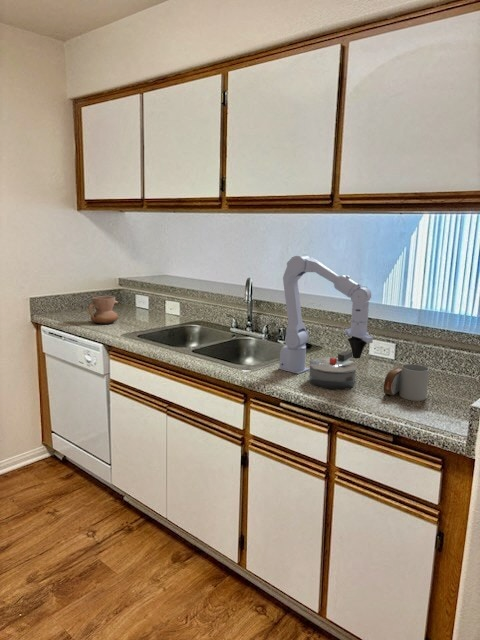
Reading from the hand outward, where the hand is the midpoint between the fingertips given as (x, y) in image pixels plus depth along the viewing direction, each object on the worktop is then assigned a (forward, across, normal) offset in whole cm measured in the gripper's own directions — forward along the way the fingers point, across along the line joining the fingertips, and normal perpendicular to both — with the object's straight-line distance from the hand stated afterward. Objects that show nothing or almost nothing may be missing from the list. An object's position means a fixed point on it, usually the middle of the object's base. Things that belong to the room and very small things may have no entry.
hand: (356, 357), depth 176 cm
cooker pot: (+9, +2, +7) cm, 11 cm away
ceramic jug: (+9, +127, +77) cm, 148 cm away
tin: (+9, -15, -6) cm, 18 cm away
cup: (+9, -20, -9) cm, 24 cm away
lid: (+2, +2, +7) cm, 8 cm away
